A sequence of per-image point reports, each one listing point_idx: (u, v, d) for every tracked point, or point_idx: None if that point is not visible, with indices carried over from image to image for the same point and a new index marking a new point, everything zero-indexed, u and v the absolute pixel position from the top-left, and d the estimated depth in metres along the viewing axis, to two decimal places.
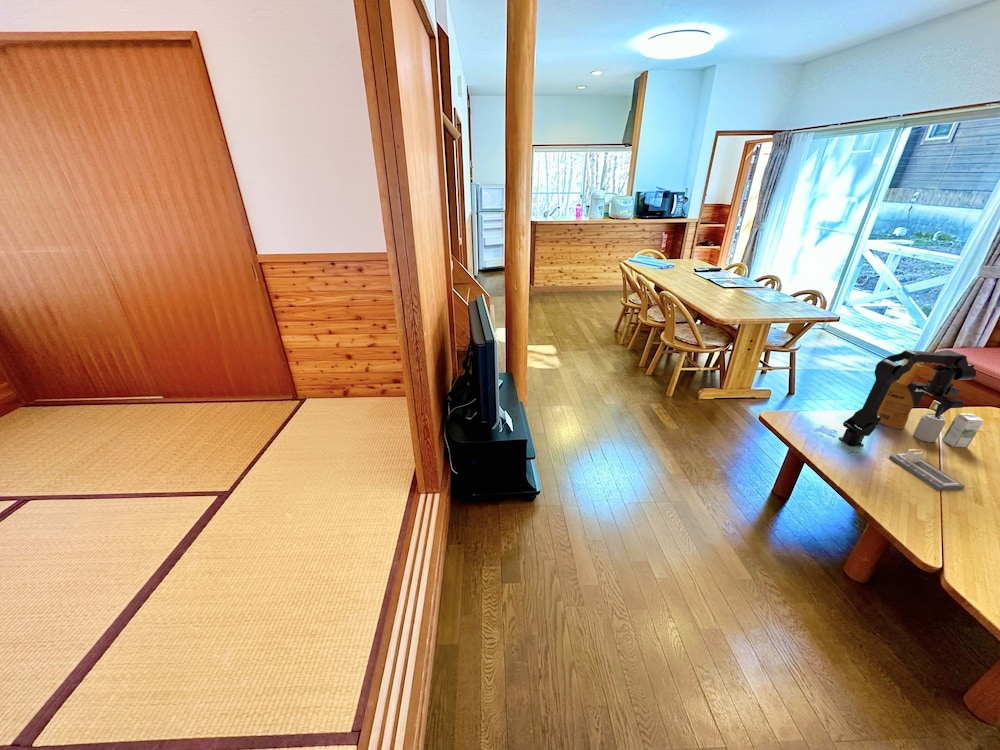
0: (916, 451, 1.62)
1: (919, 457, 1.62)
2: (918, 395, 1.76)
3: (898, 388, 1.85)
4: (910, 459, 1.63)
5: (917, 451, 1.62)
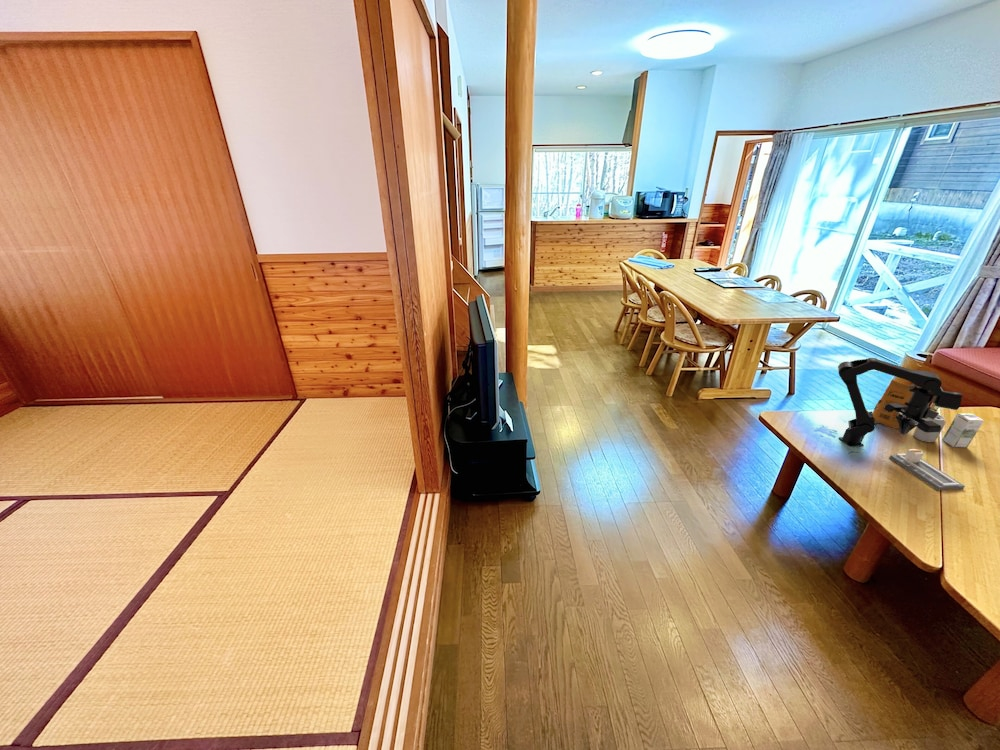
0: (916, 451, 1.62)
1: (919, 457, 1.62)
2: None
3: (898, 388, 1.85)
4: (910, 459, 1.63)
5: (917, 451, 1.62)
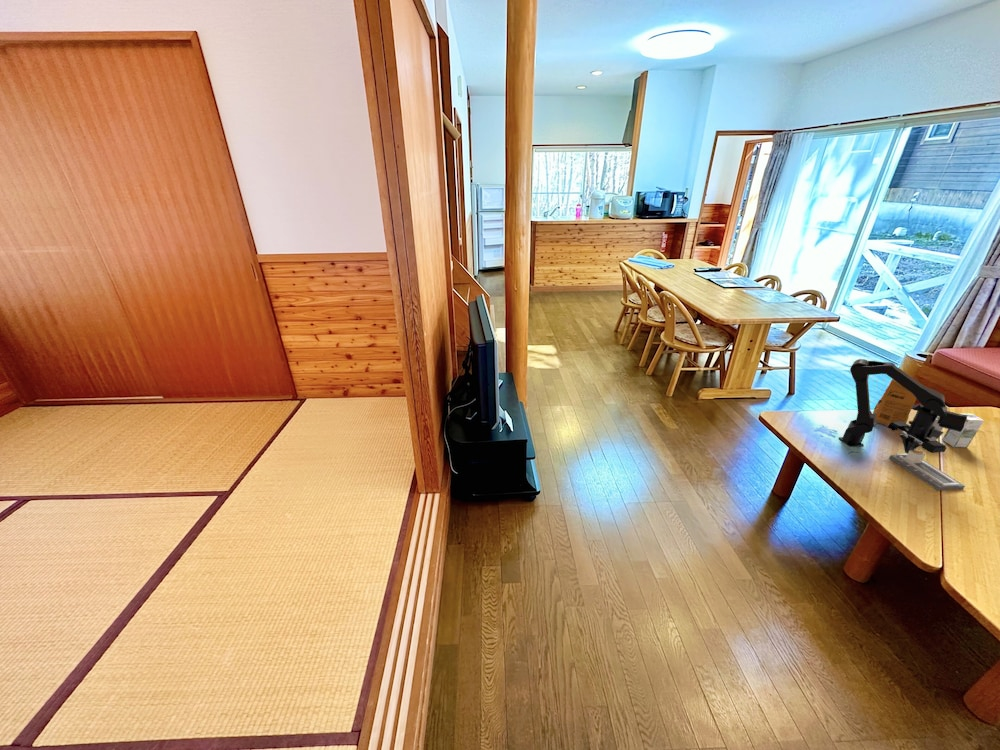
0: (918, 452, 1.62)
1: (921, 458, 1.62)
2: None
3: (898, 388, 1.85)
4: (912, 460, 1.63)
5: (919, 452, 1.62)
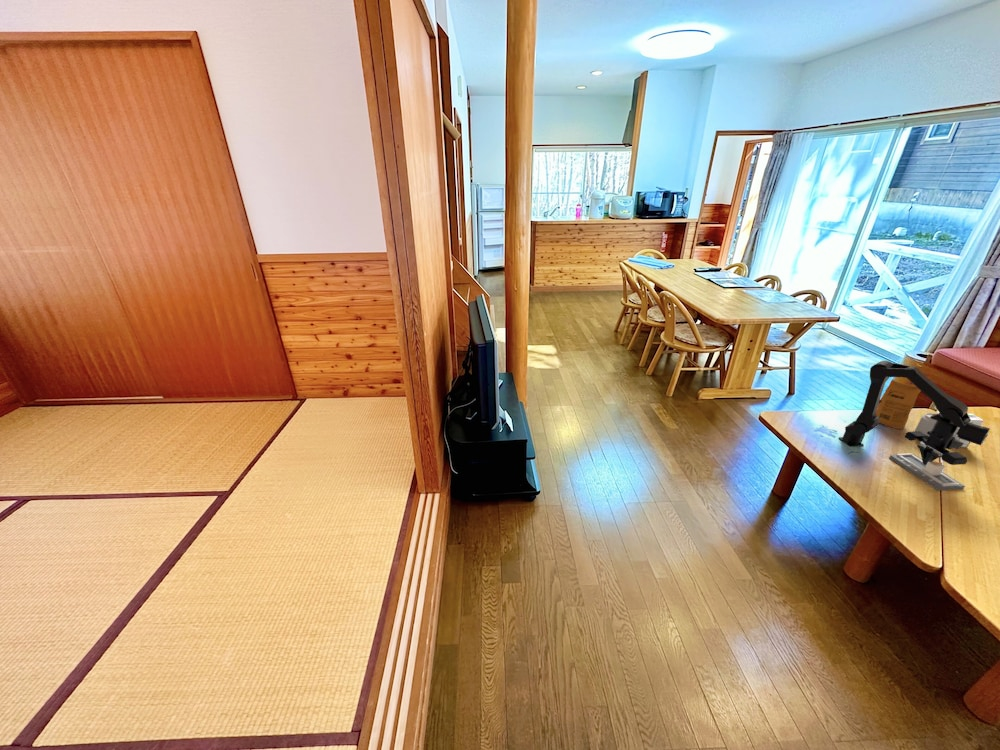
0: (937, 464, 1.55)
1: (940, 470, 1.55)
2: None
3: (898, 388, 1.85)
4: (930, 472, 1.56)
5: (938, 464, 1.55)
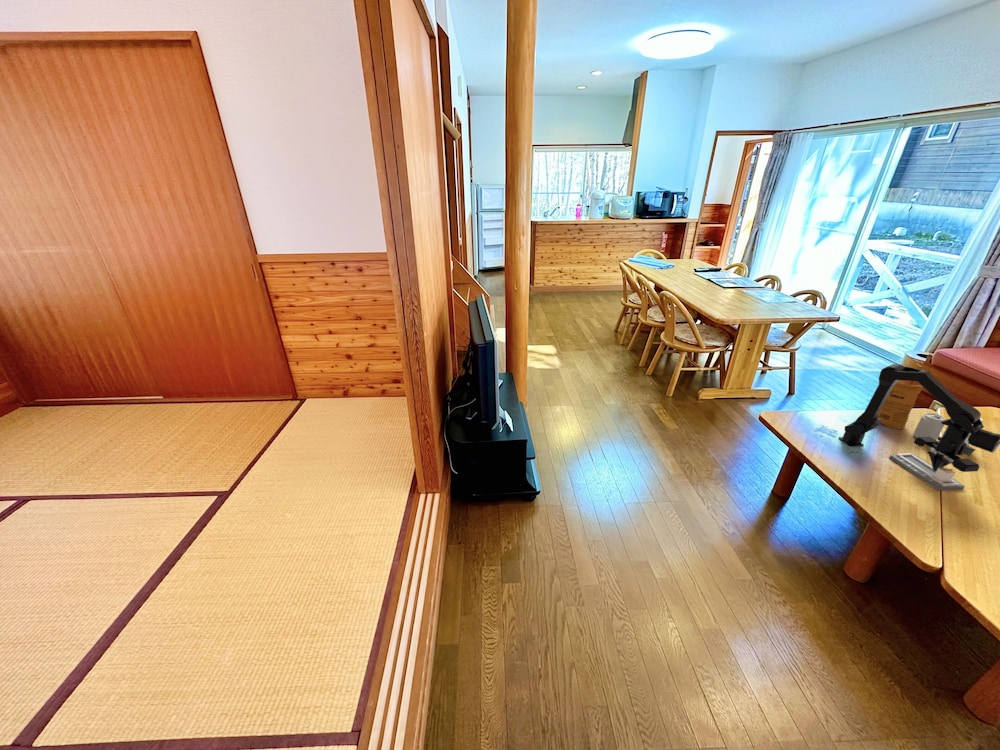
0: (947, 470, 1.51)
1: (950, 477, 1.51)
2: None
3: (898, 388, 1.85)
4: (940, 479, 1.52)
5: (948, 470, 1.51)
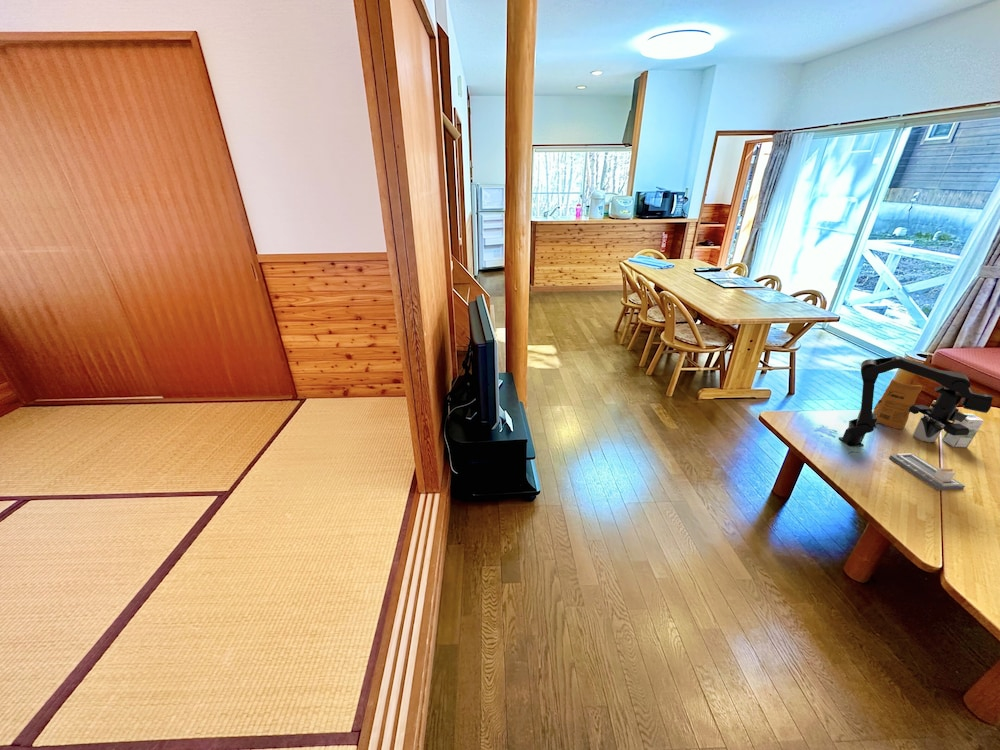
0: (947, 470, 1.51)
1: (950, 477, 1.51)
2: None
3: (898, 388, 1.85)
4: (940, 479, 1.52)
5: (948, 470, 1.51)
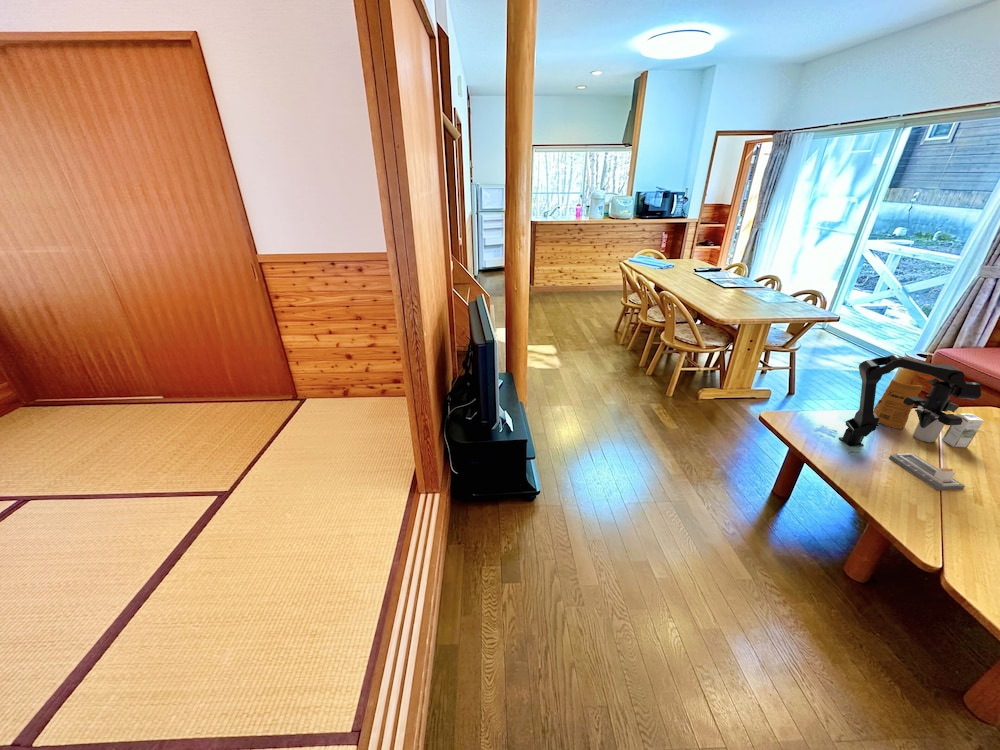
0: (947, 470, 1.51)
1: (950, 477, 1.51)
2: None
3: (898, 388, 1.85)
4: (940, 479, 1.52)
5: (948, 470, 1.51)
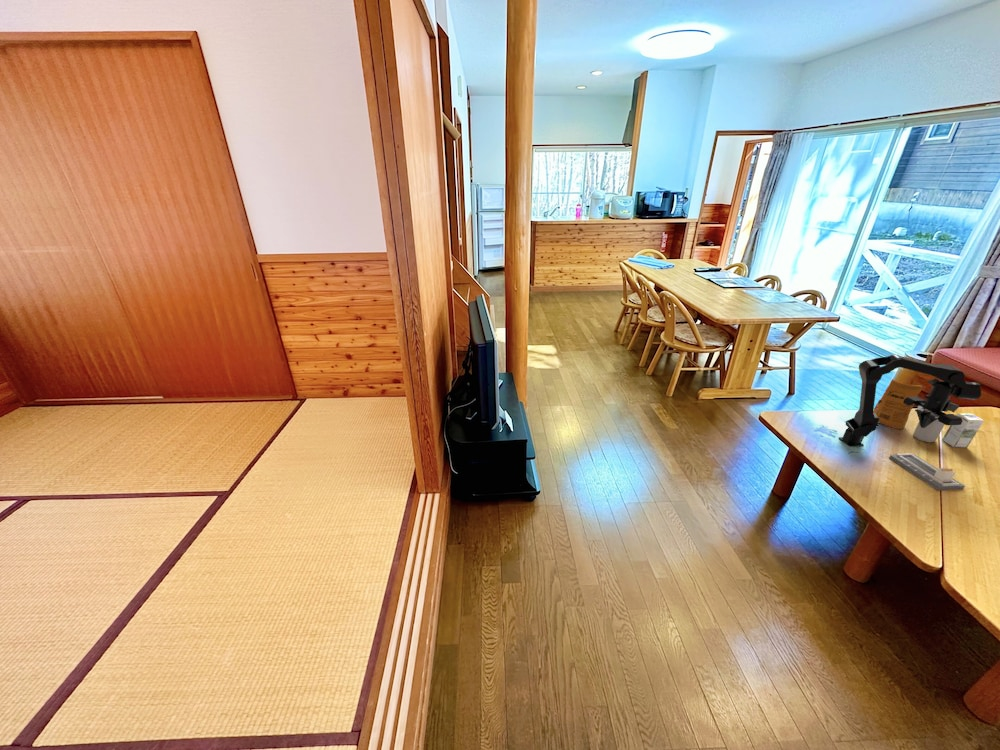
0: (947, 470, 1.51)
1: (950, 477, 1.51)
2: None
3: (898, 388, 1.85)
4: (940, 479, 1.52)
5: (948, 470, 1.51)
